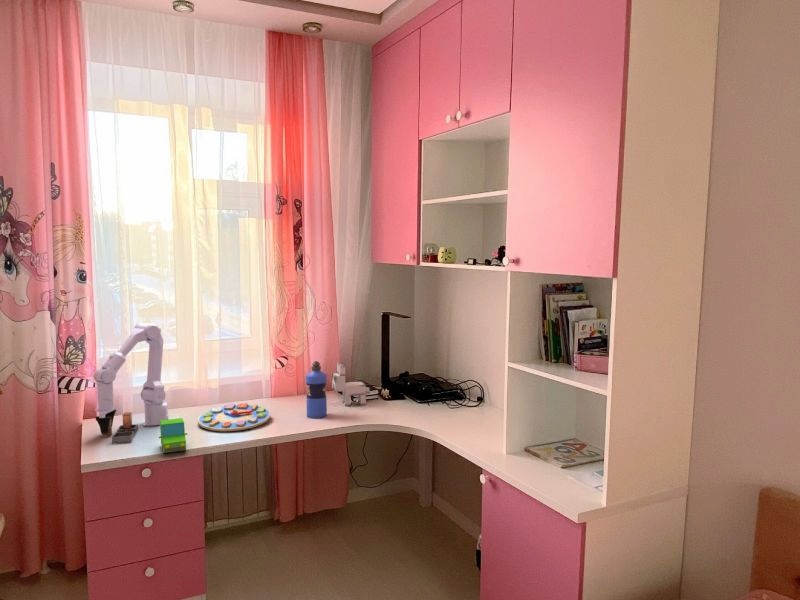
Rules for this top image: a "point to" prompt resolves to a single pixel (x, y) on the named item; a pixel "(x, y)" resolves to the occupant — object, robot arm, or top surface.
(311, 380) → the water bottle
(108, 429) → the wooden block with lid
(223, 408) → the shape sorting clock
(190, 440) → the top surface
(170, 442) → the toy car
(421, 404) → the top surface
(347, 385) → the toy llama
